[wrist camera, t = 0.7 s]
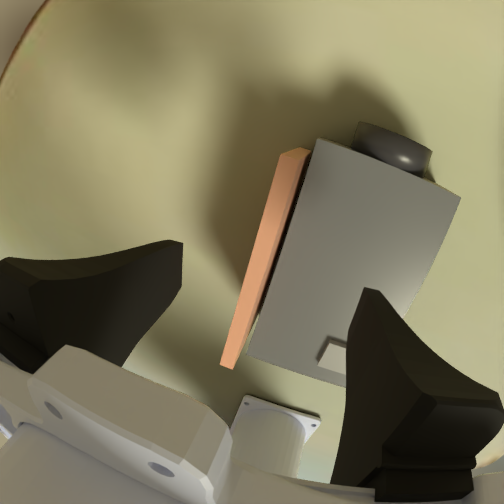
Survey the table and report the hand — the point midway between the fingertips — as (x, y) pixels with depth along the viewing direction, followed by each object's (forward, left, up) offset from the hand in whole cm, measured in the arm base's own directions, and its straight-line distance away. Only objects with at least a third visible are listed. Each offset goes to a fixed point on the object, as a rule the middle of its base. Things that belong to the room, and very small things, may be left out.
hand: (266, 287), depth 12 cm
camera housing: (-1, -4, -10) cm, 10 cm away
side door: (-1, +1, -9) cm, 10 cm away
